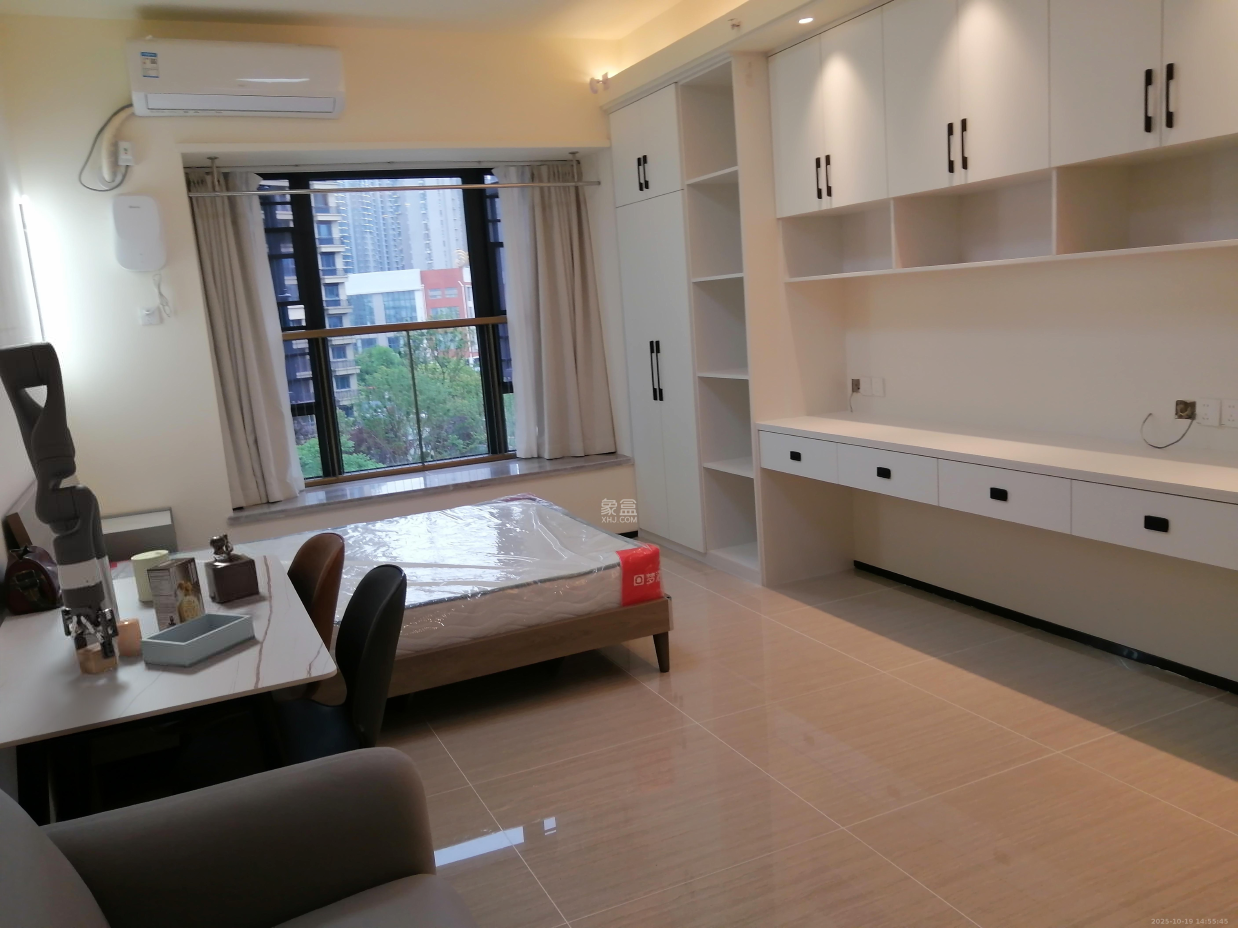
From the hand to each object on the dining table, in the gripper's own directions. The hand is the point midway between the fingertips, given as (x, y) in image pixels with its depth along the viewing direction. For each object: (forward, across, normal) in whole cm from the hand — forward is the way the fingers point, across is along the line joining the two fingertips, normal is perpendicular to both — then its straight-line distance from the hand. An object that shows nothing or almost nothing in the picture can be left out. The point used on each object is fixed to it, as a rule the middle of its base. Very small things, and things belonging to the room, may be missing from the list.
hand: (96, 656), depth 195 cm
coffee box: (+3, -4, +24) cm, 25 cm away
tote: (+3, +14, +14) cm, 20 cm away
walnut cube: (+3, 0, 0) cm, 3 cm away
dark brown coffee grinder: (+3, -12, +46) cm, 48 cm away
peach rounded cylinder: (+3, -2, +9) cm, 10 cm away
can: (+2, -38, +43) cm, 58 cm away
